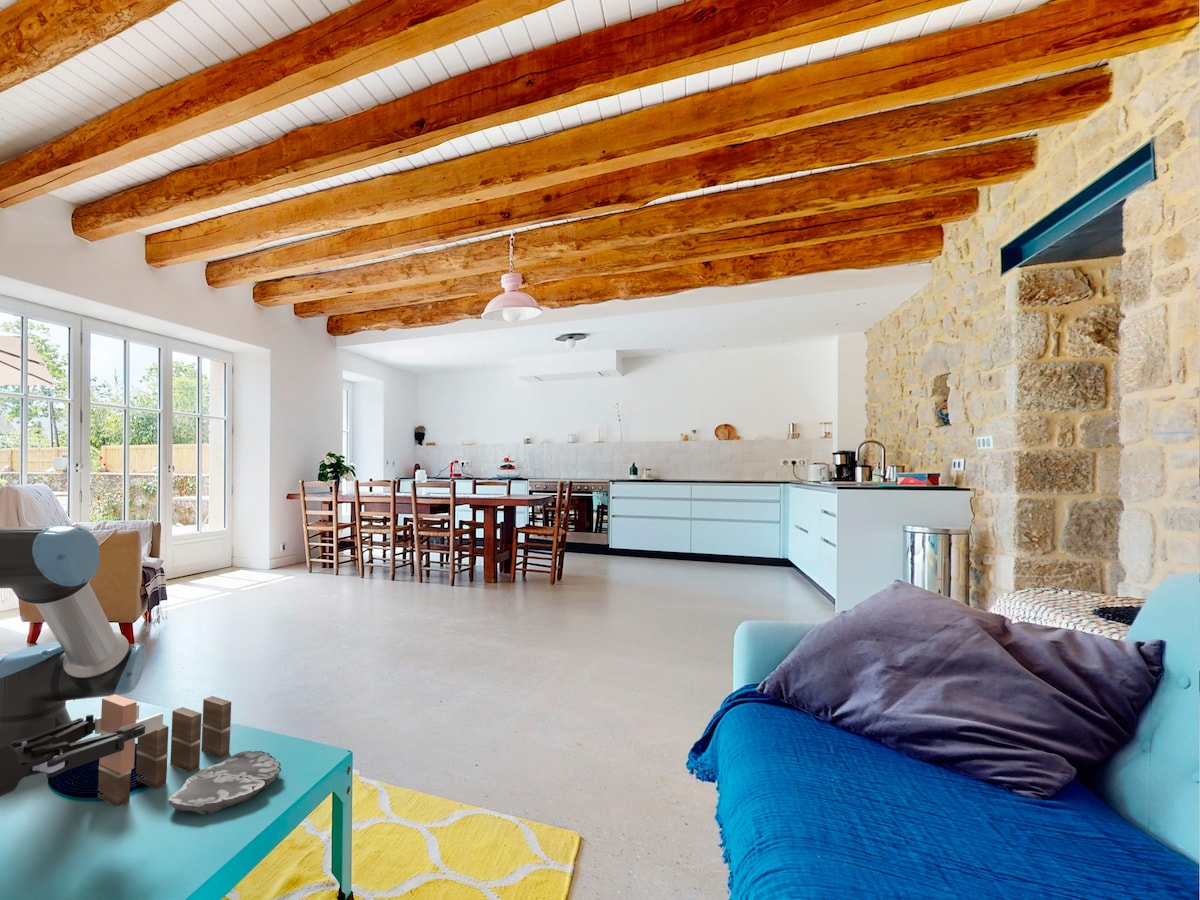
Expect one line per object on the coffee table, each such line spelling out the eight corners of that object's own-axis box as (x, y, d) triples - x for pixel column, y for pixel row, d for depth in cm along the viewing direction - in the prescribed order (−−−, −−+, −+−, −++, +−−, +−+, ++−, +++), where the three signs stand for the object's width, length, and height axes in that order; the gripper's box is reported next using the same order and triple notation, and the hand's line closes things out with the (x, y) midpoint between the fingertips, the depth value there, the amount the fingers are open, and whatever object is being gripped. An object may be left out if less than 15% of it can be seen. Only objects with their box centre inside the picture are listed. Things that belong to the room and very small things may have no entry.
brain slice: (233, 826, 102) (234, 810, 102) (152, 817, 103) (152, 802, 104) (301, 767, 121) (302, 754, 121) (231, 761, 123) (232, 748, 123)
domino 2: (117, 807, 106) (119, 745, 106) (97, 797, 109) (99, 737, 109) (129, 801, 108) (132, 740, 108) (110, 791, 111) (112, 732, 111)
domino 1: (120, 773, 96) (123, 706, 96) (98, 764, 99) (101, 698, 99) (134, 767, 98) (137, 701, 98) (112, 758, 101) (115, 694, 101)
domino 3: (155, 789, 112) (157, 730, 112) (135, 780, 115) (137, 723, 115) (166, 783, 114) (169, 726, 114) (146, 775, 117) (149, 719, 117)
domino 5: (220, 758, 124) (222, 705, 124) (201, 750, 127) (203, 699, 127) (229, 753, 126) (231, 701, 126) (210, 746, 128) (212, 695, 129)
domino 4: (189, 772, 118) (191, 717, 118) (169, 764, 121) (172, 710, 121) (199, 767, 120) (201, 713, 120) (180, 760, 123) (182, 707, 123)
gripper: (-55, 787, 86) (119, 723, 107) (5, 823, 78) (180, 747, 99) (-53, 740, 86) (120, 686, 107) (7, 771, 78) (182, 706, 99)
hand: (149, 715), depth 103 cm, fingers closed on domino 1, 7 cm apart
